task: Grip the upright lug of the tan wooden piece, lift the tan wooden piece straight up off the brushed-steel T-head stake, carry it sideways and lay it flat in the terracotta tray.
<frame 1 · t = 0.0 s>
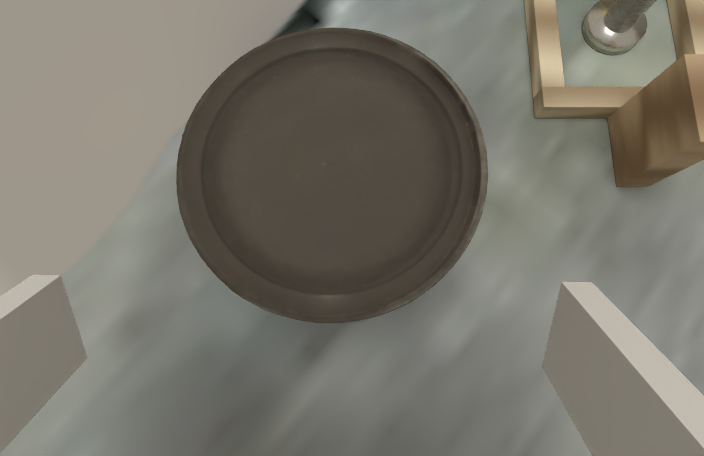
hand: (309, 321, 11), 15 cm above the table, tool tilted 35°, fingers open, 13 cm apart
tan wooden piece: (611, 42, 30), on the table
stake: (609, 30, 30), on the table
coffee can: (347, 242, 27), on the table
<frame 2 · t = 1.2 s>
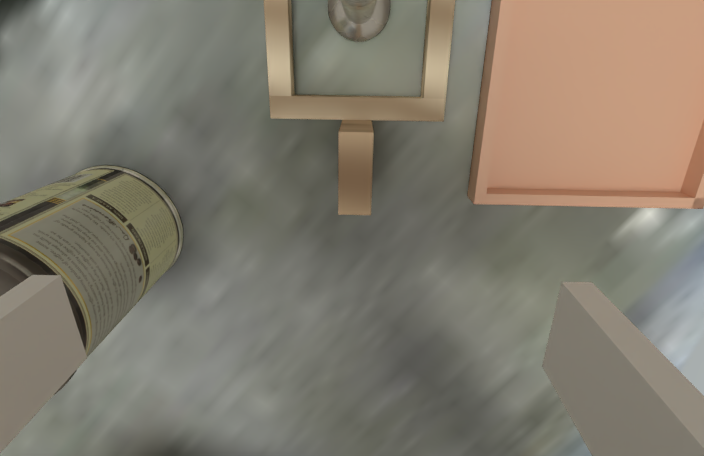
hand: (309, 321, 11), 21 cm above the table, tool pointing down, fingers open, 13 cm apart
tan wooden piece: (358, 25, 28), on the table
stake: (359, 8, 27), on the table
tray: (609, 45, 28), on the table
coffee can: (123, 225, 34), on the table
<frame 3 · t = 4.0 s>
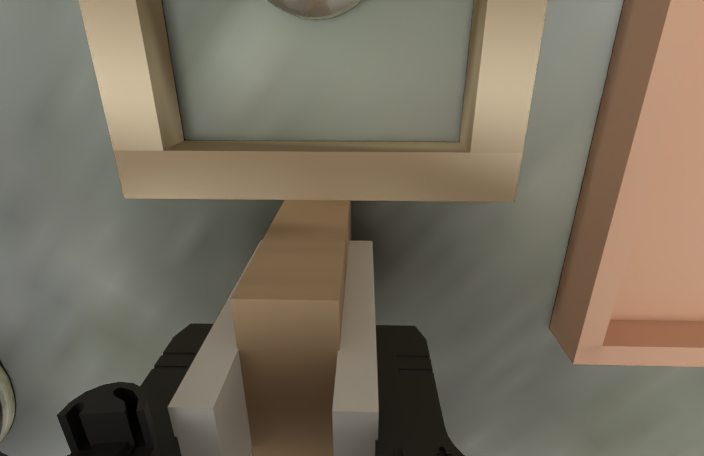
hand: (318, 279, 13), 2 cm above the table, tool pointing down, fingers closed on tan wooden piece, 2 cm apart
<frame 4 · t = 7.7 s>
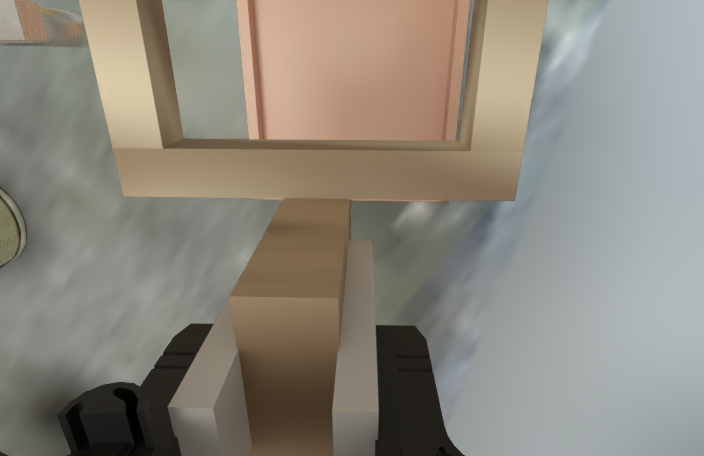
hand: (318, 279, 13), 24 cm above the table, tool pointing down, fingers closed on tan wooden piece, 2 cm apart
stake: (136, 34, 32), on the table
tray: (352, 63, 33), on the table
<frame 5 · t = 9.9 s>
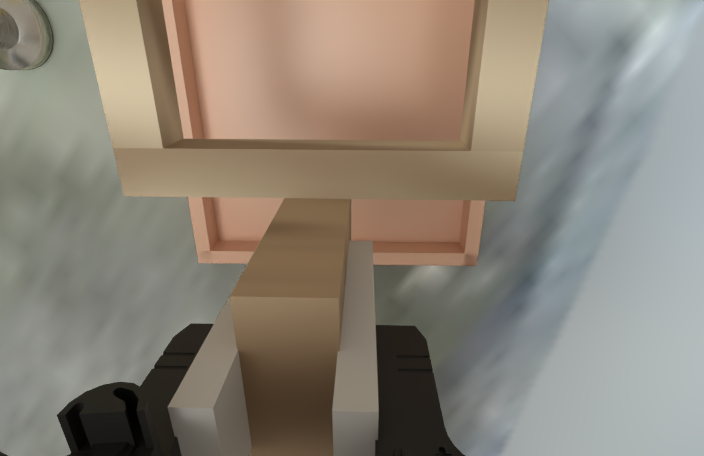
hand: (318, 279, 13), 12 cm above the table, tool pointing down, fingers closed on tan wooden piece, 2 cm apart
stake: (14, 29, 22), on the table
tray: (335, 69, 22), on the table
when the fingers open (4 cm above the table, at t = 11.5 s): tan wooden piece drops 2 cm, resting on tray.
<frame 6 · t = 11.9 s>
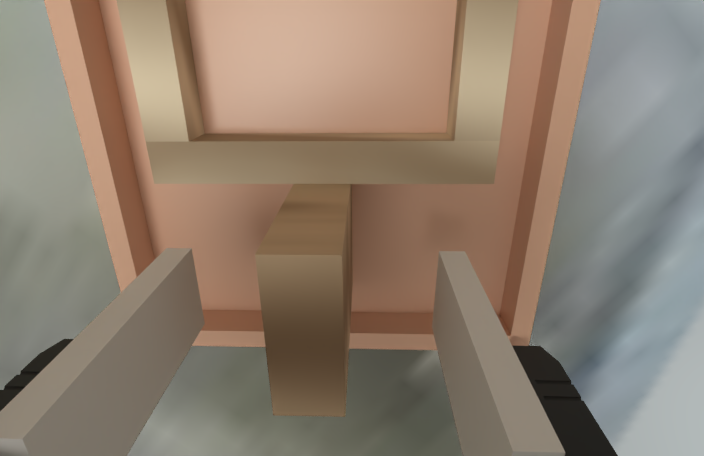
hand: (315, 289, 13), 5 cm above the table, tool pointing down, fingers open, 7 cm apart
tray: (325, 72, 15), on the table
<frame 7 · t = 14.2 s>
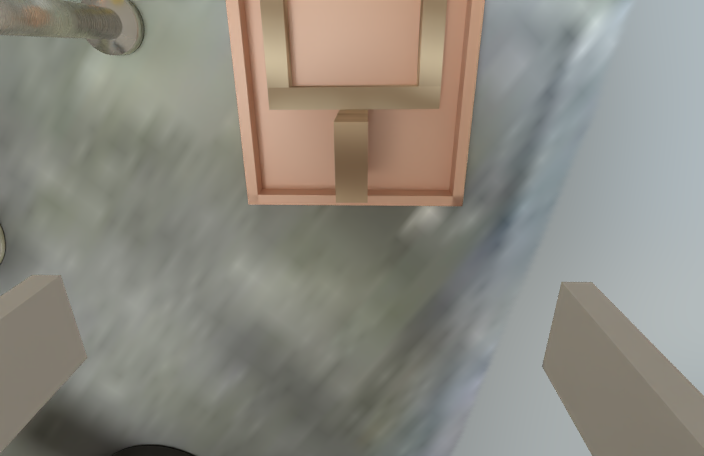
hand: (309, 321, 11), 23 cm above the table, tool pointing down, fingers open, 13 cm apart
tan wooden piece: (353, 15, 28), resting on tray
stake: (115, 24, 29), on the table
tray: (355, 53, 29), on the table
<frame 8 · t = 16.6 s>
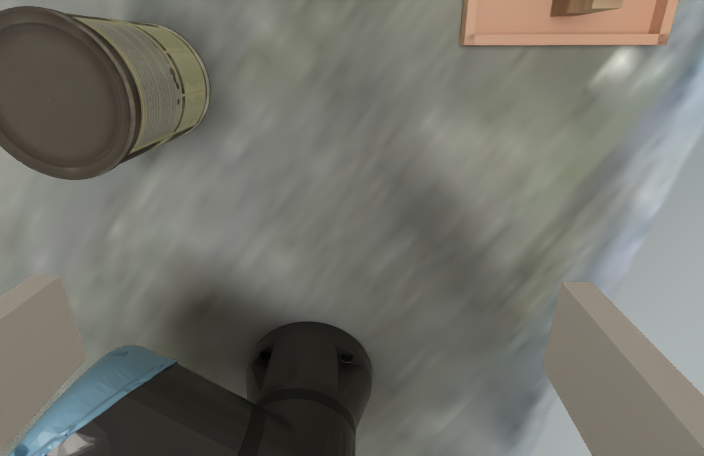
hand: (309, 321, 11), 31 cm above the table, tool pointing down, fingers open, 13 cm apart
coffee can: (158, 83, 38), on the table
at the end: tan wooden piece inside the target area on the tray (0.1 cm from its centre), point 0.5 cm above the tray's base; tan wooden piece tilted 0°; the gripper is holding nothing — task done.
